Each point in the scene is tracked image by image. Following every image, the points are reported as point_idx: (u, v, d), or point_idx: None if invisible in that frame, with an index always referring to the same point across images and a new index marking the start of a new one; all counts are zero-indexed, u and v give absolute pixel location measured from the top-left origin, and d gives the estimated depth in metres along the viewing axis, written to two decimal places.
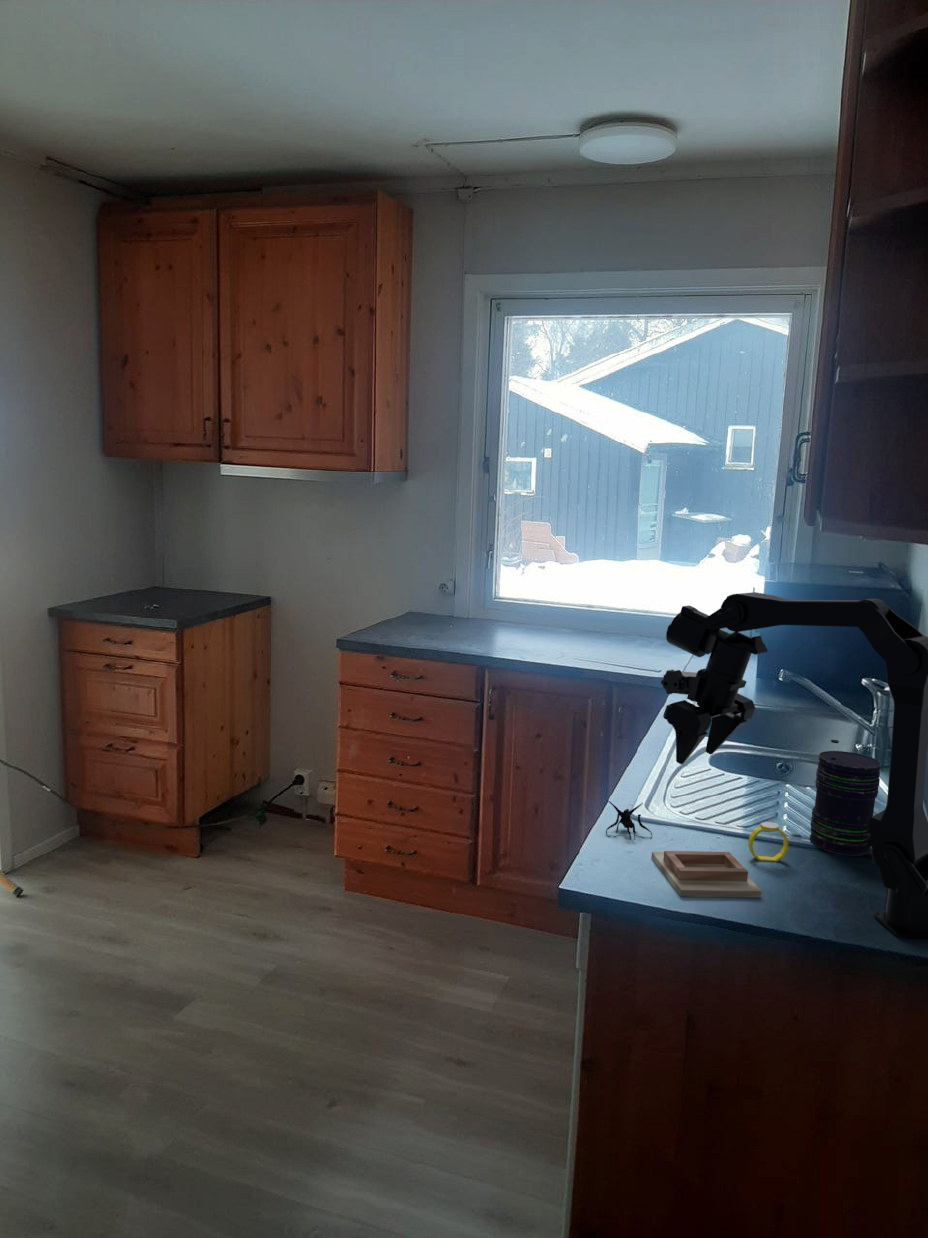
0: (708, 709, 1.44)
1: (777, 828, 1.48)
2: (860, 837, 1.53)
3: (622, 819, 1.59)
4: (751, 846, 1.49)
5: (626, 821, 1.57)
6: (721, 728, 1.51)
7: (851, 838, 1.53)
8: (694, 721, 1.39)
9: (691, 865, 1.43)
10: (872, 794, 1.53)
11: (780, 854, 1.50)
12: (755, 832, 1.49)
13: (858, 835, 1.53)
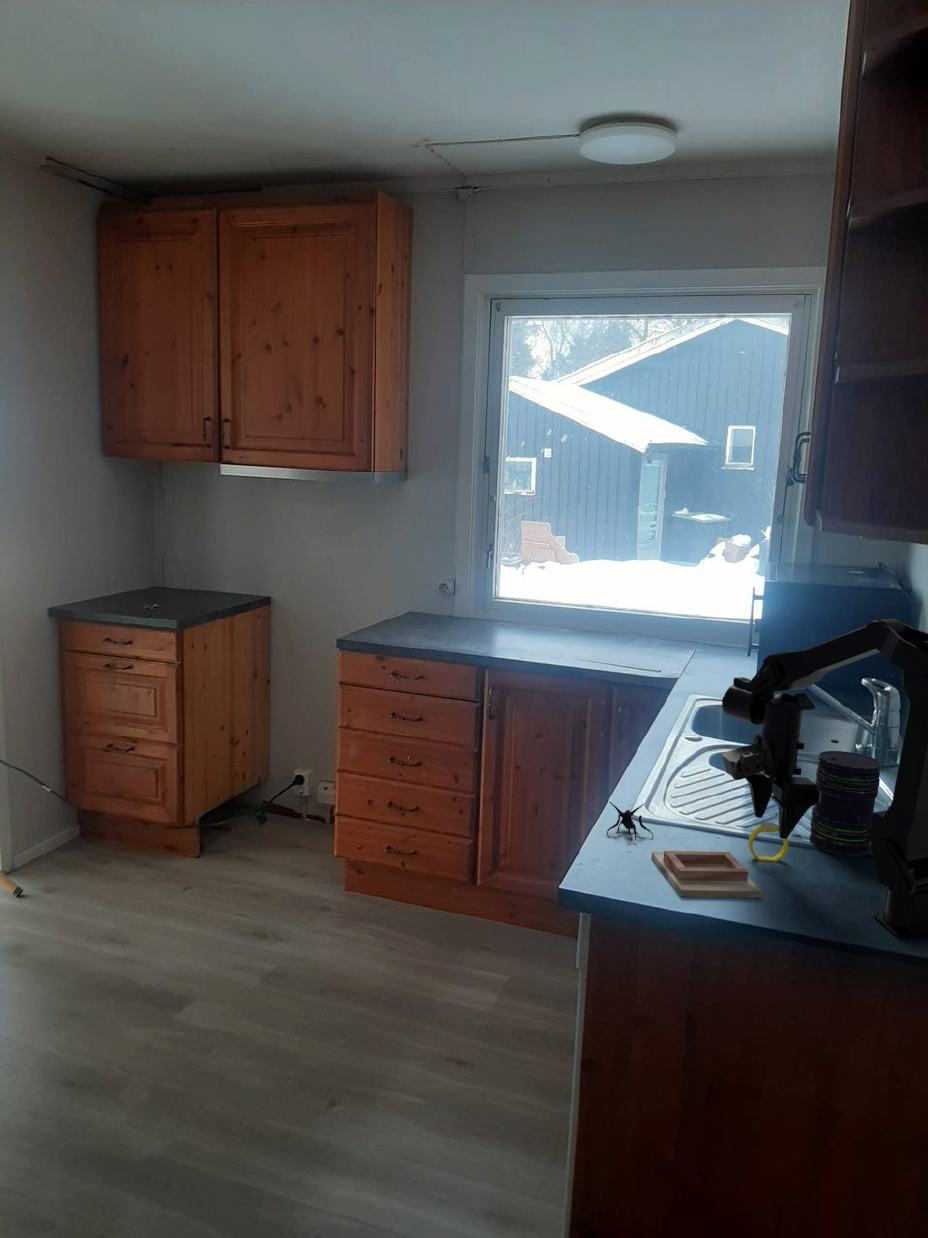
0: (789, 775, 1.45)
1: (777, 828, 1.48)
2: (860, 837, 1.53)
3: (623, 820, 1.59)
4: (751, 846, 1.49)
5: (627, 822, 1.57)
6: (764, 788, 1.53)
7: (851, 838, 1.53)
8: (818, 791, 1.39)
9: (691, 865, 1.43)
10: (872, 794, 1.53)
11: (780, 854, 1.50)
12: (755, 832, 1.49)
13: (858, 835, 1.53)
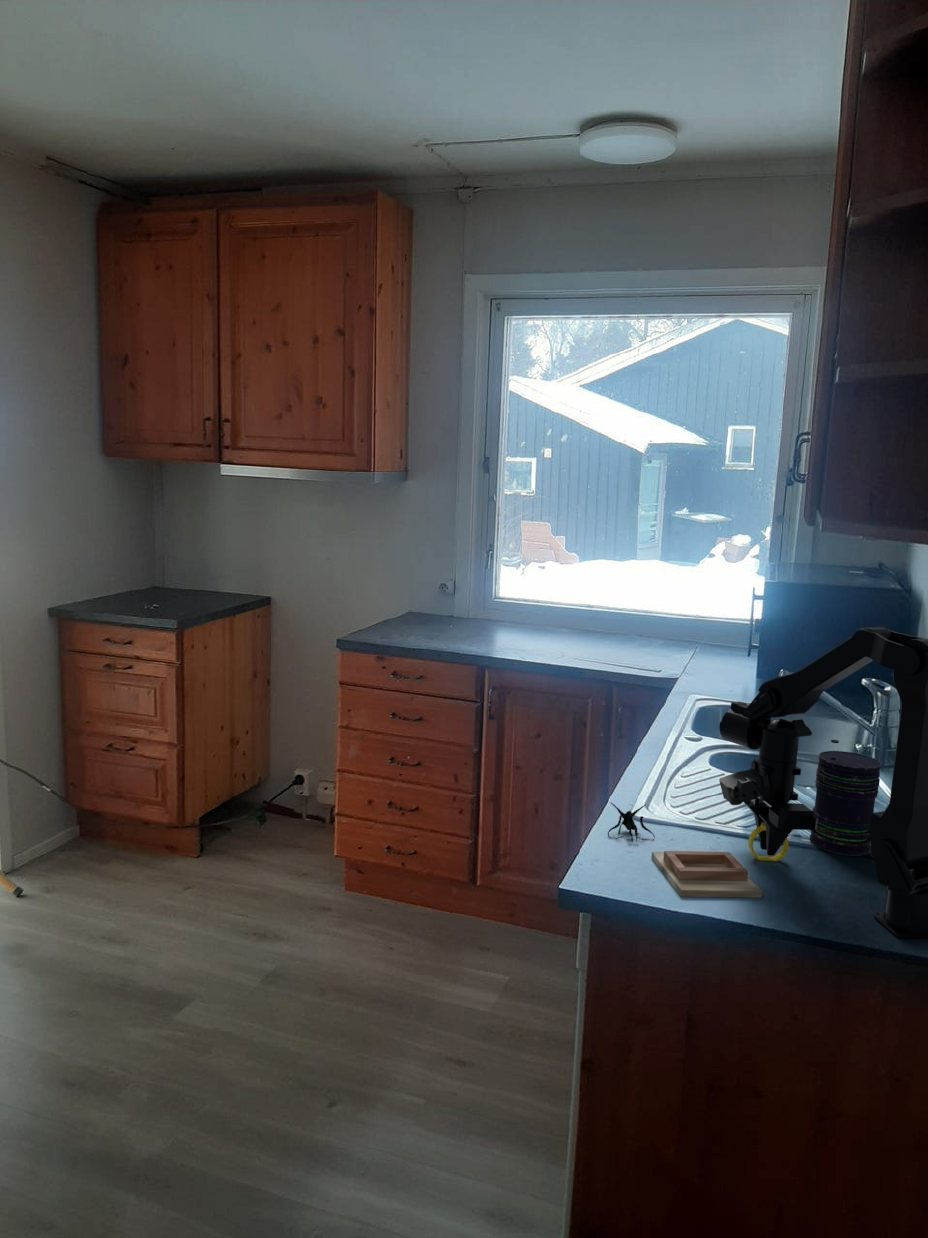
0: (785, 801, 1.46)
1: None
2: (860, 837, 1.53)
3: (624, 821, 1.58)
4: (751, 846, 1.49)
5: (628, 823, 1.56)
6: None
7: (851, 838, 1.53)
8: (814, 817, 1.39)
9: (691, 865, 1.43)
10: (872, 794, 1.53)
11: (780, 854, 1.50)
12: (755, 832, 1.49)
13: (858, 835, 1.53)
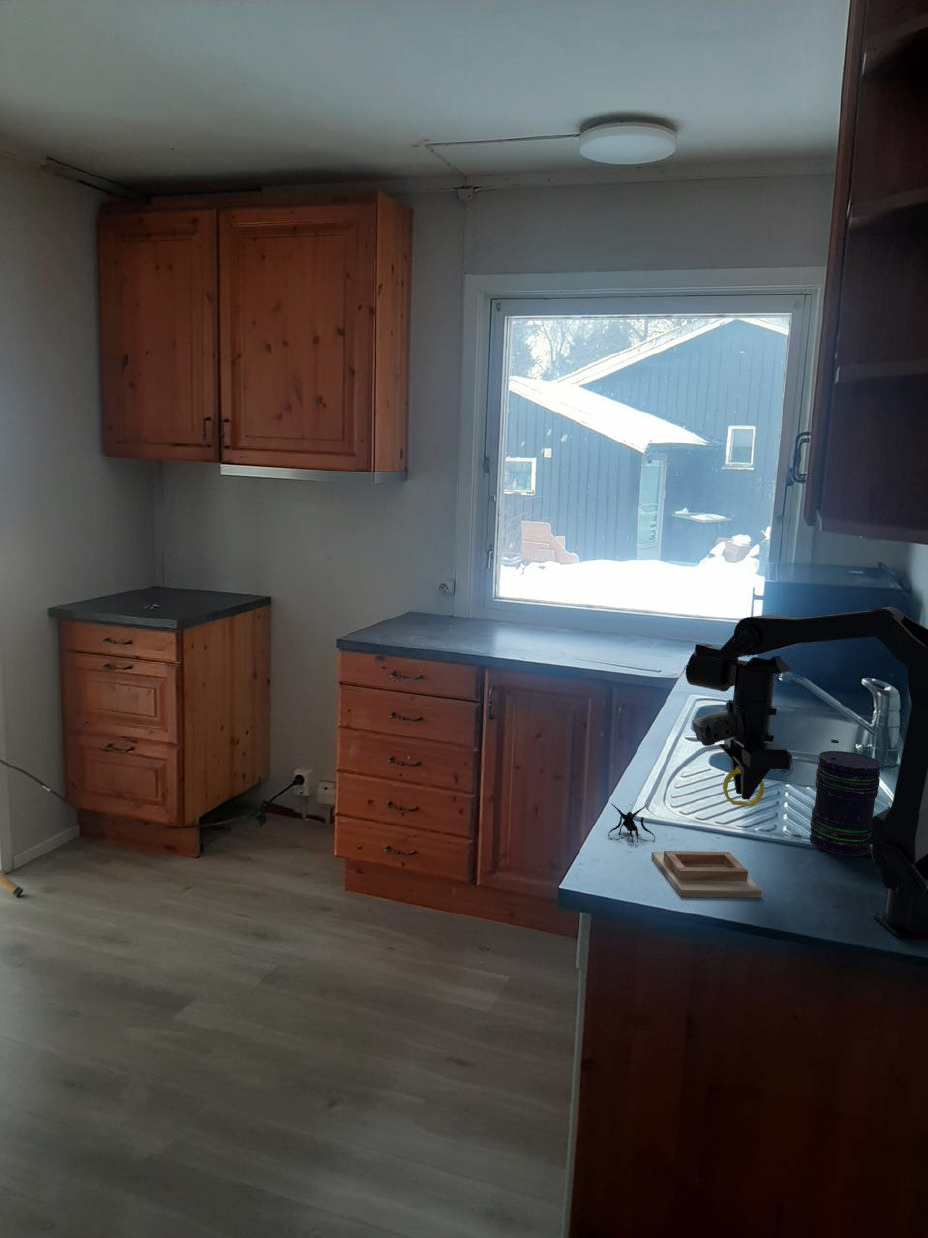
0: (760, 741, 1.40)
1: None
2: (860, 837, 1.53)
3: (625, 822, 1.58)
4: (725, 789, 1.43)
5: (629, 824, 1.56)
6: None
7: (851, 838, 1.53)
8: (788, 756, 1.34)
9: (691, 865, 1.43)
10: (872, 794, 1.53)
11: (756, 798, 1.44)
12: (730, 775, 1.43)
13: (858, 835, 1.53)
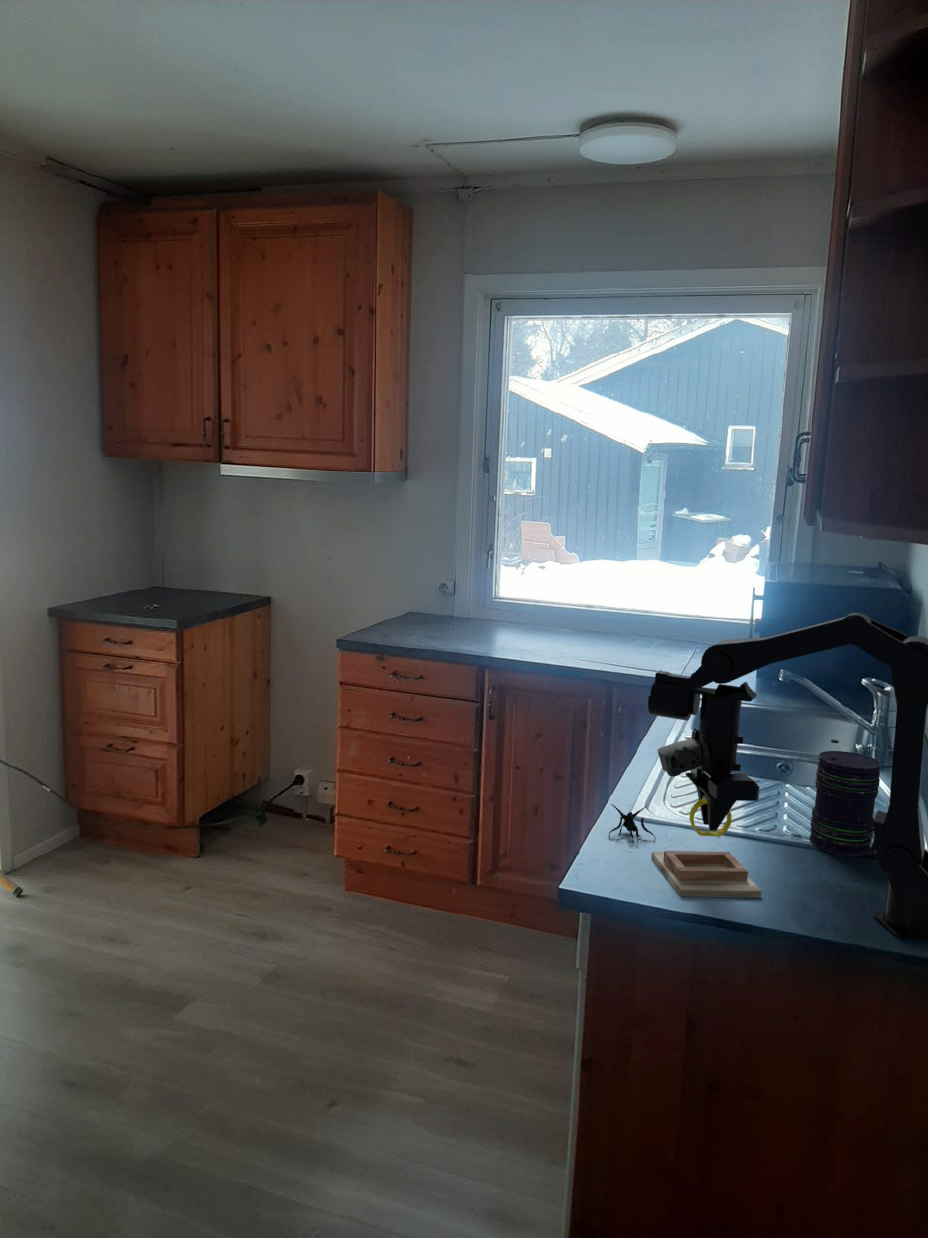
0: (727, 771, 1.36)
1: None
2: (860, 837, 1.53)
3: (625, 822, 1.58)
4: (692, 820, 1.40)
5: (629, 824, 1.56)
6: None
7: (851, 838, 1.53)
8: (755, 787, 1.30)
9: (691, 865, 1.43)
10: (872, 794, 1.53)
11: (723, 828, 1.40)
12: (696, 805, 1.40)
13: (858, 835, 1.53)
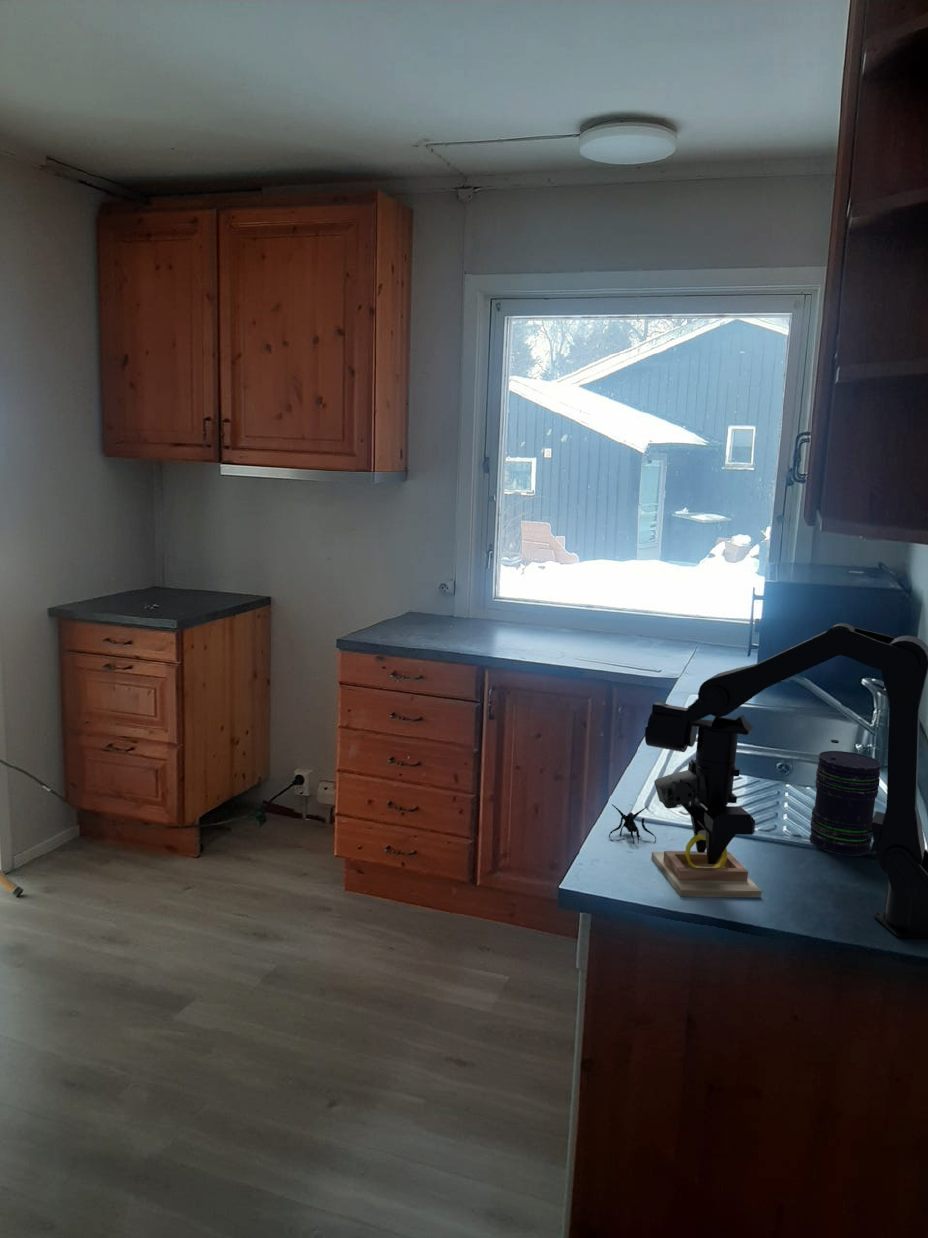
0: (723, 803, 1.37)
1: None
2: (860, 837, 1.53)
3: (626, 823, 1.58)
4: (688, 856, 1.41)
5: (630, 825, 1.55)
6: None
7: (851, 838, 1.53)
8: (751, 821, 1.31)
9: None
10: (872, 794, 1.53)
11: (719, 864, 1.41)
12: (692, 841, 1.41)
13: (858, 835, 1.53)
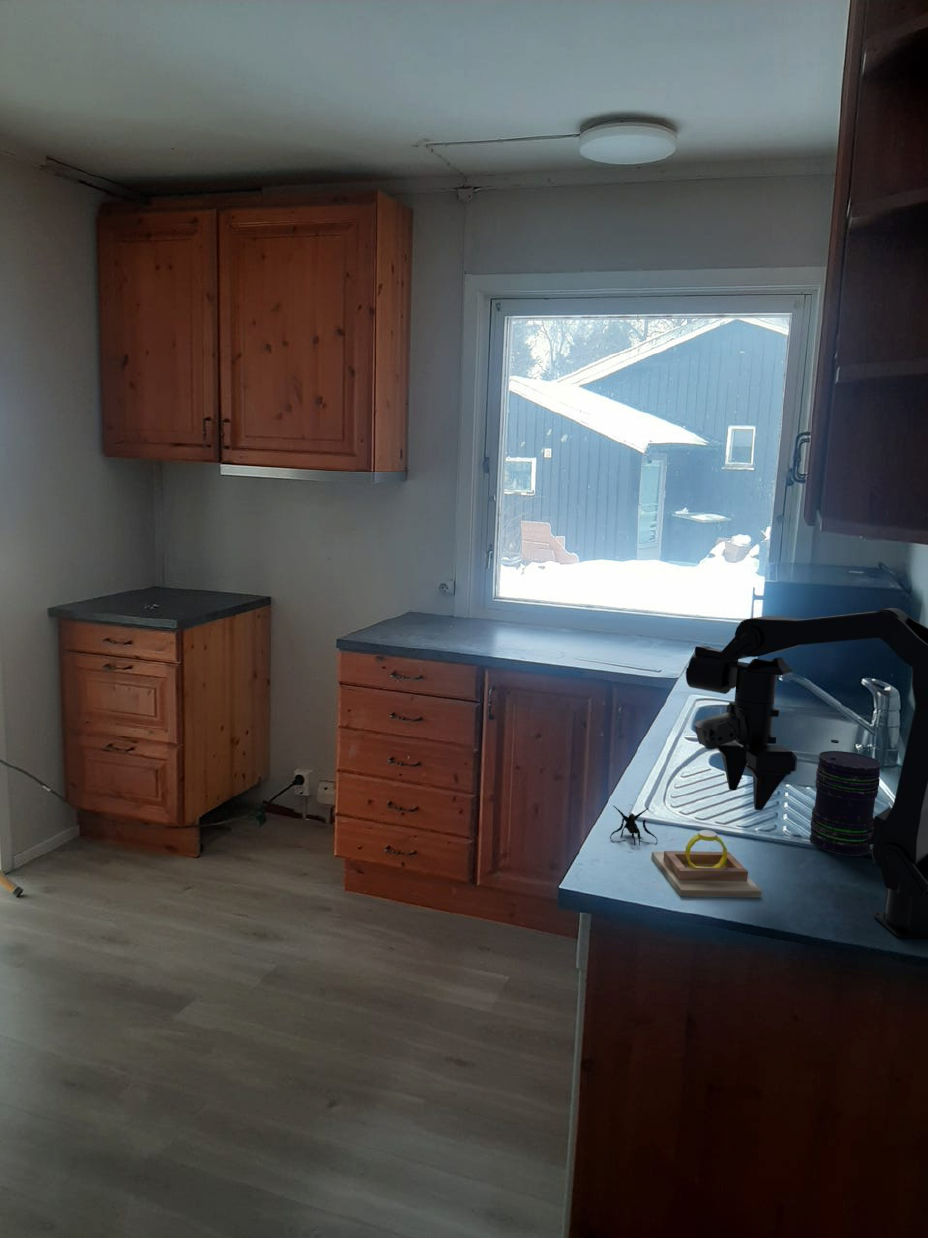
0: (763, 744, 1.39)
1: (715, 837, 1.40)
2: (860, 837, 1.53)
3: (627, 824, 1.57)
4: (688, 856, 1.41)
5: (631, 826, 1.55)
6: (737, 760, 1.47)
7: (851, 838, 1.53)
8: (793, 758, 1.33)
9: None
10: (872, 794, 1.53)
11: (719, 864, 1.41)
12: (692, 841, 1.40)
13: (858, 835, 1.53)
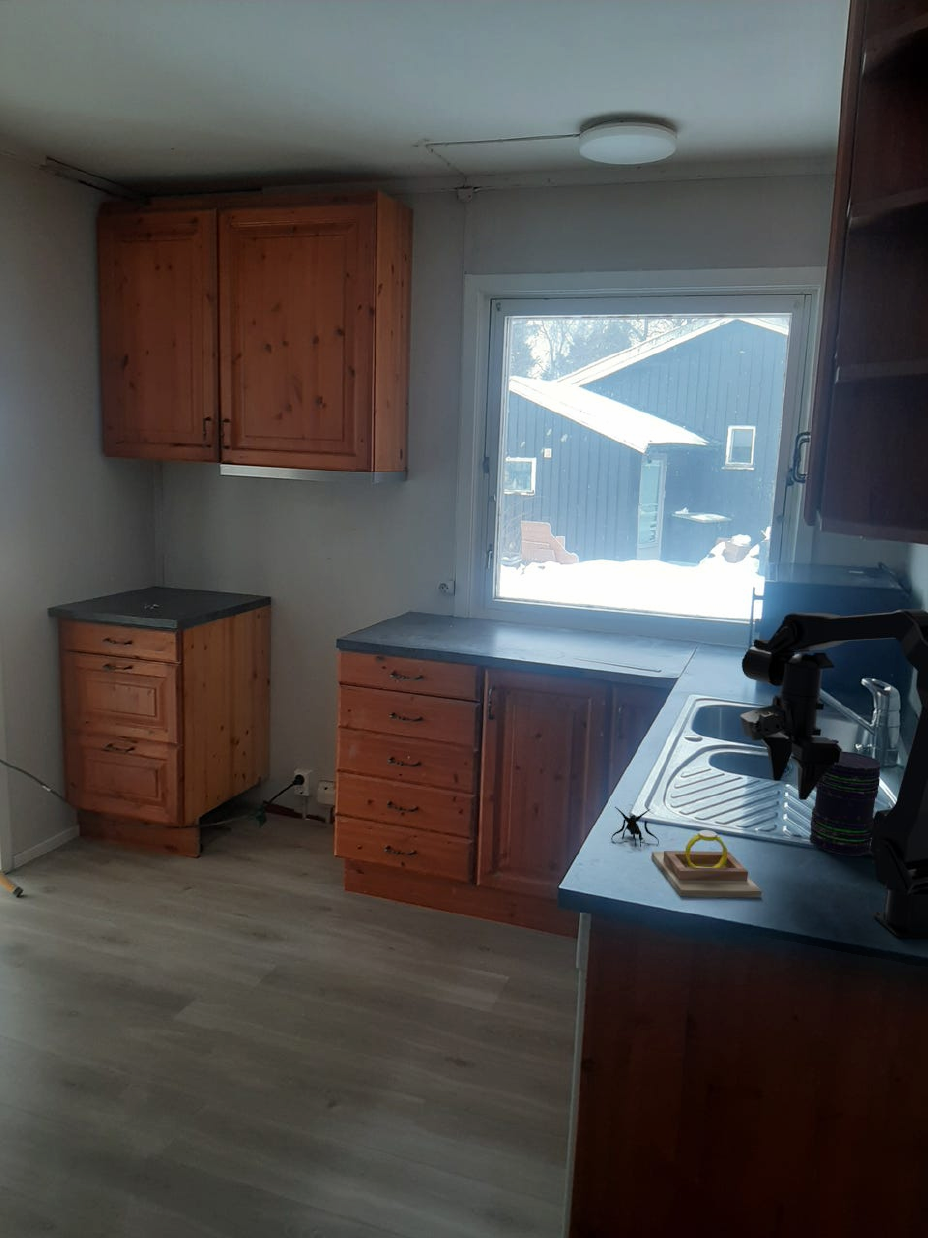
0: (808, 736, 1.43)
1: (715, 837, 1.40)
2: (860, 837, 1.53)
3: (628, 825, 1.56)
4: (688, 856, 1.41)
5: (632, 827, 1.54)
6: (782, 751, 1.52)
7: (851, 838, 1.53)
8: (838, 750, 1.37)
9: None
10: (872, 794, 1.53)
11: (719, 864, 1.41)
12: (692, 841, 1.40)
13: (858, 835, 1.53)
